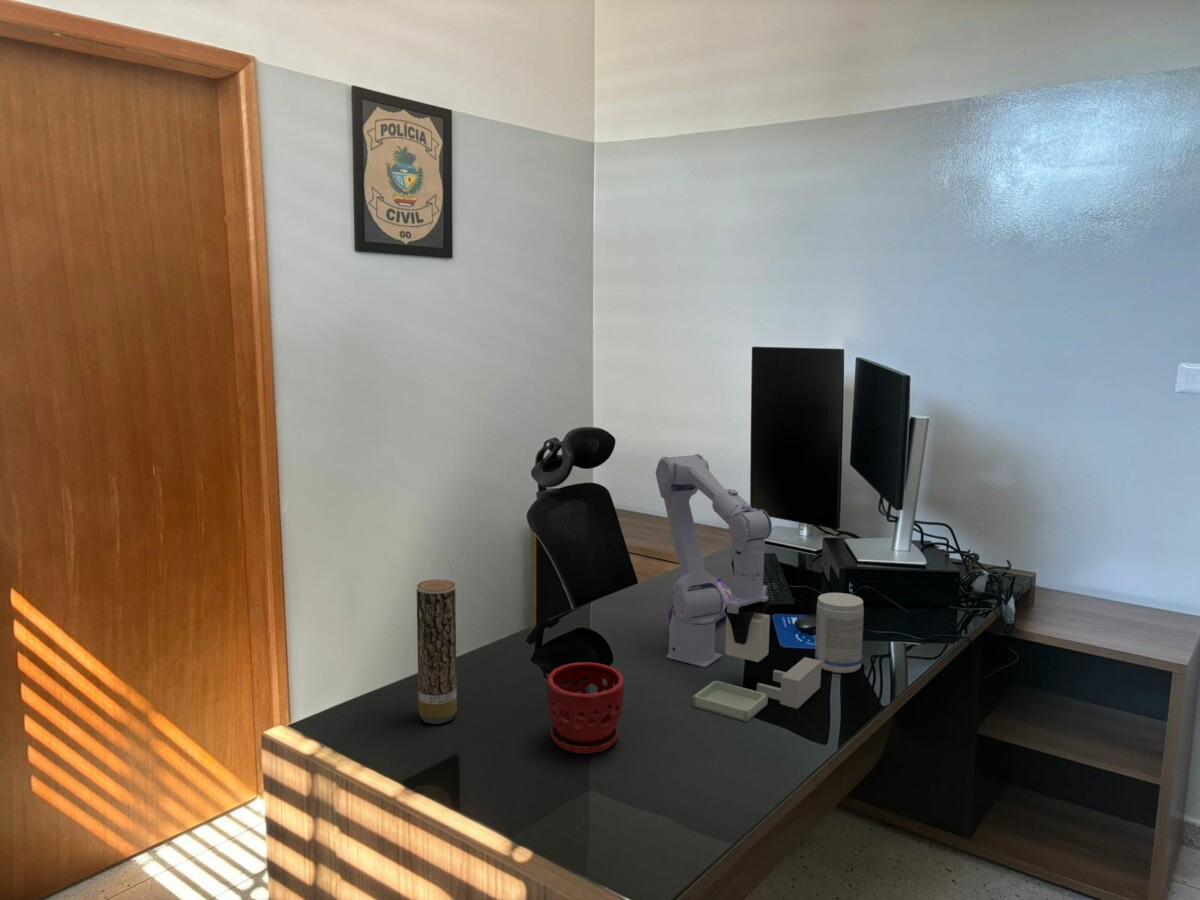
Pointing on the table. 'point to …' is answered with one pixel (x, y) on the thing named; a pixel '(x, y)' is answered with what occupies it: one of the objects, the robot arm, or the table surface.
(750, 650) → the taupe rectangular block
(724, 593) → the pencil case
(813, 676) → the dock
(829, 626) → the supplement tub
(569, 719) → the plant pot
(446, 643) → the paper tube
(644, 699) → the table surface
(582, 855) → the table surface
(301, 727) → the table surface
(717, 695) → the tray
